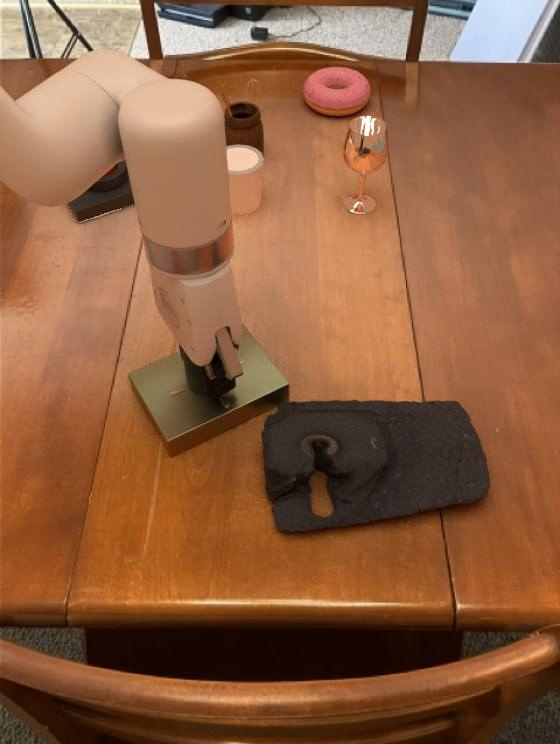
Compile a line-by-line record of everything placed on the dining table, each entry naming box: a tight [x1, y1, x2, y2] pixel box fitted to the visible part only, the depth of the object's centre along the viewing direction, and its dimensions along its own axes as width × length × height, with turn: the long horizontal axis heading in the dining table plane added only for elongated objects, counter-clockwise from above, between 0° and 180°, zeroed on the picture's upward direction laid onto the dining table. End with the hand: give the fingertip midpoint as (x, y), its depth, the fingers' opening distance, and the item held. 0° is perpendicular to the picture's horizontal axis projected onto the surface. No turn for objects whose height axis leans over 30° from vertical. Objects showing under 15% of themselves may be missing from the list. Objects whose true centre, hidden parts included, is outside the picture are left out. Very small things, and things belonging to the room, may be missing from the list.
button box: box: [66, 160, 135, 223], centre depth 95 cm, size 12×10×4 cm
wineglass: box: [342, 115, 389, 215], centre depth 90 cm, size 6×6×12 cm
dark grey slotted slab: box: [260, 399, 491, 534], centre depth 66 cm, size 15×22×5 cm
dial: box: [181, 347, 221, 394], centre depth 69 cm, size 4×4×6 cm
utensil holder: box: [216, 78, 265, 155], centre depth 98 cm, size 6×6×12 cm
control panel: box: [127, 323, 290, 458], centre depth 72 cm, size 14×10×3 cm
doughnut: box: [301, 66, 372, 117], centre depth 110 cm, size 11×11×4 cm
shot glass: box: [226, 145, 265, 216], centre depth 92 cm, size 7×7×7 cm
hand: (208, 372), depth 71 cm, fingers open, 4 cm apart
